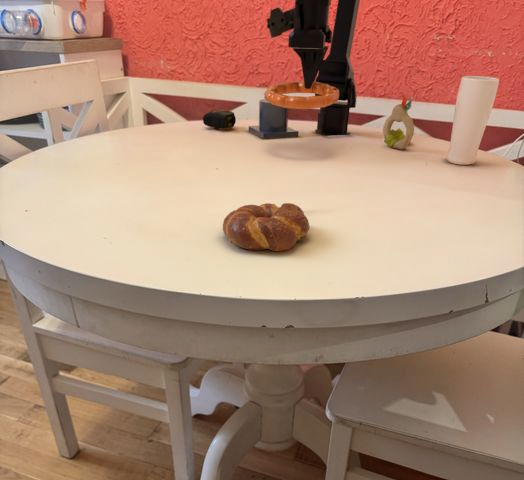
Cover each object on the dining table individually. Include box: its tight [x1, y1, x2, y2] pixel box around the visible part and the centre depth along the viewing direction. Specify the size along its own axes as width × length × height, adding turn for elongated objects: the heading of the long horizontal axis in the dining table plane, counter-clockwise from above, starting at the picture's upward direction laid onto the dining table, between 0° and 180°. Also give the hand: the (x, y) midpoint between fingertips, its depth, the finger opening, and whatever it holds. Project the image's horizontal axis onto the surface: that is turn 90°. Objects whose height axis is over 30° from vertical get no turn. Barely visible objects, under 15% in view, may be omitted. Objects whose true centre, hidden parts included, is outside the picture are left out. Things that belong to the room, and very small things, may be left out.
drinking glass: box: [446, 75, 500, 166], centre depth 96 cm, size 7×7×15 cm
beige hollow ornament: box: [382, 90, 415, 151], centre depth 107 cm, size 8×8×12 cm
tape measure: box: [202, 109, 237, 131], centre depth 122 cm, size 7×7×4 cm
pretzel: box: [222, 202, 311, 252], centre depth 64 cm, size 12×11×4 cm
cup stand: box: [248, 98, 300, 140], centre depth 117 cm, size 9×9×7 cm
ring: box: [263, 80, 340, 110], centre depth 95 cm, size 14×14×2 cm
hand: (308, 87), depth 99 cm, fingers closed on ring, 2 cm apart
